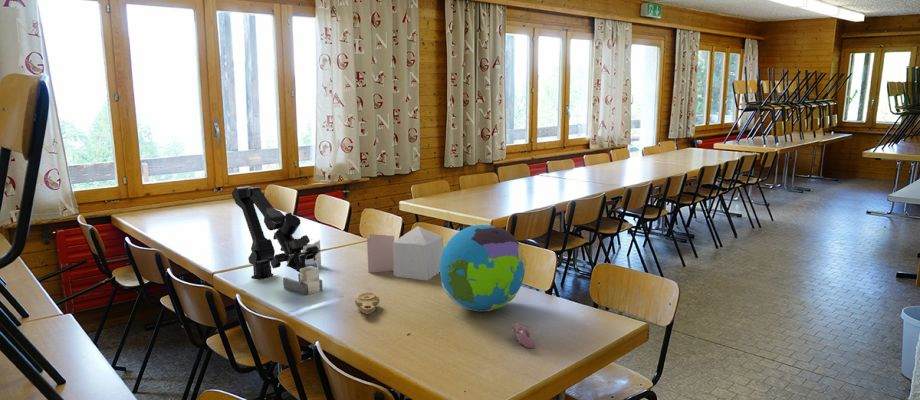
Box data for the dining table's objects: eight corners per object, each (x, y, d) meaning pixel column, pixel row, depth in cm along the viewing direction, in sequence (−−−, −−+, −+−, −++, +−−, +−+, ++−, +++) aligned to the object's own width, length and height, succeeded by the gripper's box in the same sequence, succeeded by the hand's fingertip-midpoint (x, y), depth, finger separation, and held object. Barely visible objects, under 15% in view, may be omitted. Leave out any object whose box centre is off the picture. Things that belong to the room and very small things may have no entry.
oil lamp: (365, 320, 206) (364, 306, 205) (344, 308, 217) (344, 295, 216) (392, 313, 213) (391, 299, 212) (371, 302, 224) (370, 289, 223)
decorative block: (393, 276, 253) (392, 229, 250) (410, 266, 268) (409, 221, 264) (428, 280, 247) (427, 232, 244) (444, 269, 262) (443, 224, 258)
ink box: (313, 270, 262) (312, 244, 260) (302, 270, 263) (301, 243, 260) (321, 265, 270) (320, 239, 268) (311, 264, 271) (309, 238, 269)
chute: (283, 290, 237) (283, 277, 236) (301, 285, 243) (300, 273, 242) (305, 298, 228) (304, 285, 227) (322, 292, 234) (322, 280, 233)
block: (300, 291, 232) (299, 268, 230) (312, 288, 235) (310, 265, 234) (308, 294, 228) (307, 271, 227) (319, 291, 232) (318, 268, 230)
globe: (469, 332, 195) (469, 241, 189) (424, 305, 220) (422, 223, 214) (542, 314, 210) (544, 228, 205) (492, 290, 235) (492, 213, 230)
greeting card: (395, 269, 263) (395, 235, 260) (388, 274, 256) (387, 239, 253) (372, 267, 266) (370, 233, 263) (363, 272, 259) (362, 237, 257)
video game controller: (517, 341, 192) (507, 322, 191) (530, 334, 192) (520, 316, 191) (523, 354, 182) (513, 335, 181) (537, 347, 182) (527, 328, 181)
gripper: (272, 234, 226) (291, 268, 221) (315, 225, 240) (333, 257, 235) (262, 251, 233) (280, 285, 228) (304, 241, 246) (322, 273, 241)
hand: (305, 274), depth 233 cm, fingers closed, pressing on block
